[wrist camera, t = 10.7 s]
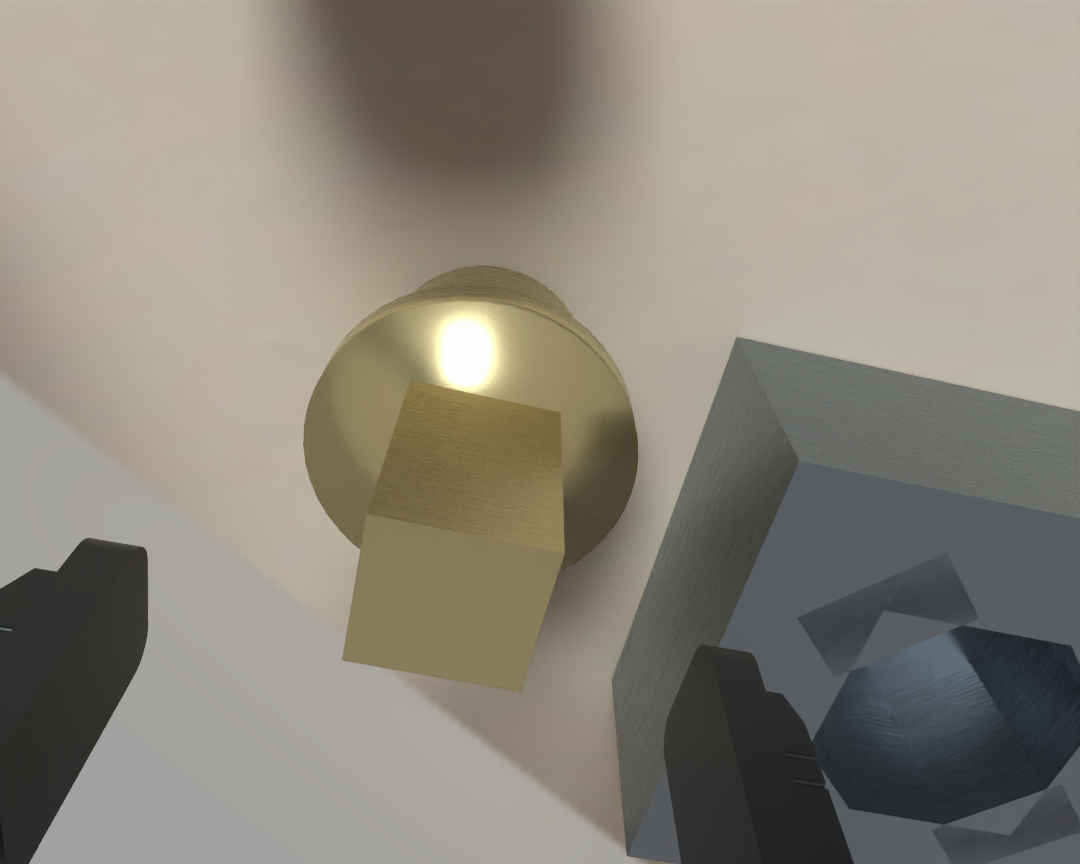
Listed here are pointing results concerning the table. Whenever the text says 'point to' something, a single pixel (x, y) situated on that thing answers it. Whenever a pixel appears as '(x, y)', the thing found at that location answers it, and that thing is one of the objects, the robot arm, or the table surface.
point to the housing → (878, 605)
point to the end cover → (467, 469)
